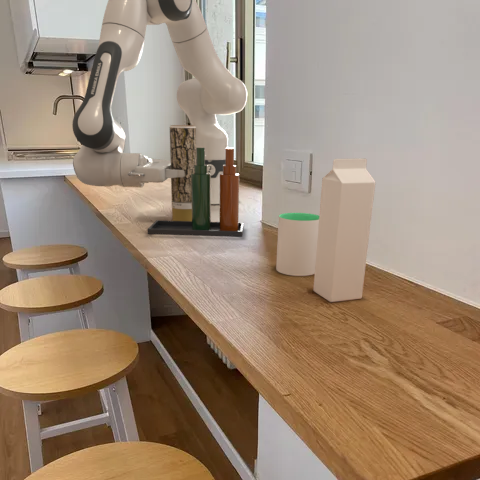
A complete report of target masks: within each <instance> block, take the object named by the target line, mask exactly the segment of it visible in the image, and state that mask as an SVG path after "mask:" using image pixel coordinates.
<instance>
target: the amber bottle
mask: <svg viewBox="0 0 480 480" xmlns="http://www.w3.org/2000/svg"><path fill="white" fill-rule="evenodd" d="M218 212H219V213H218V214H219V215H218V216H219V217H218V218H219V221H218V222H219V231H238V223H239V219H240V218H239V216H240V214H239V212H240V174H239V173H237V165H236V164H235V148H234V147H228V148H226V163H225V165H223V173H222V174H220V204H219V211H218Z"/></svg>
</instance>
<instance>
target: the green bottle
mask: <svg viewBox="0 0 480 480" xmlns="http://www.w3.org/2000/svg"><path fill="white" fill-rule="evenodd" d="M196 155H197V165H194V173H191V205H192V230H211V222H212V204H211V174H210V173H207V165H205V148H204V147H197V148H196Z"/></svg>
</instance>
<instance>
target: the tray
mask: <svg viewBox="0 0 480 480" xmlns="http://www.w3.org/2000/svg"><path fill="white" fill-rule="evenodd" d="M244 227H245V223H244V222H238V231H219V221H211V230H192V221H173V220H161V219H160V220H159V219H157V220H155V221H154V222H152V224H151V225H150V226H149V227H148V228H147V230H146V231H147V235H162V236H163V235H165V236H167V235H168V236H195V237H197V236H199V237H200V236H201V237H232V238H233V237H236V238H243V234H244Z"/></svg>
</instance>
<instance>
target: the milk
mask: <svg viewBox="0 0 480 480" xmlns="http://www.w3.org/2000/svg"><path fill="white" fill-rule="evenodd" d="M367 164H368V159H367V158H334V159H333V161H332V169H331V170H330V171H328V173H326V174H325V175H324V177H322V179H321V190H320V203H319V213H318V215H319V226H318V239H317V251H316V264H315V274H314V277H313V289H312V290H313V292H314V293H316V294H317V295H319V296H320V297H322V298H323V299H325V300H327V301H328V302H329V303H336V302H337V303H338V302H345V301H352V300H360V299H361V300H362V298H363V291H364V281H365V274H366V273H365V272H366V266H367V256H368V249H369V241H370V233H371V223H372V216H373V215H372V214H373V207H374V198H375V191H376V190H375V189H376V180H375V179H374V177H373V176H372V175H371V173H370V172H369V171H368V169H367Z"/></svg>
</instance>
